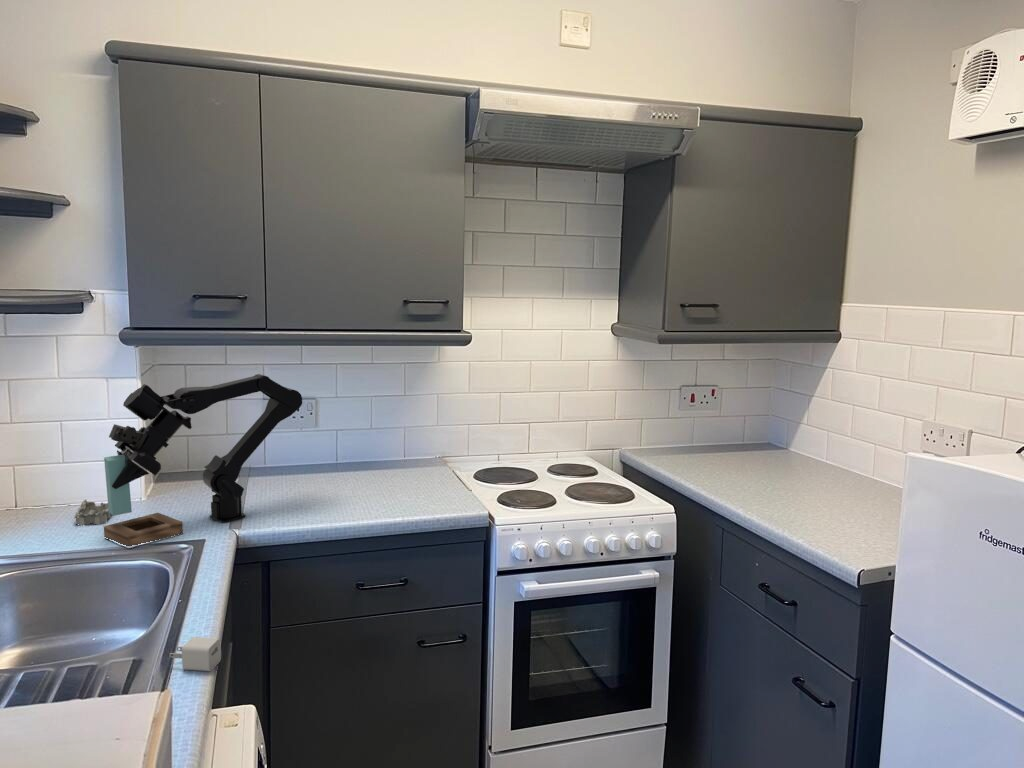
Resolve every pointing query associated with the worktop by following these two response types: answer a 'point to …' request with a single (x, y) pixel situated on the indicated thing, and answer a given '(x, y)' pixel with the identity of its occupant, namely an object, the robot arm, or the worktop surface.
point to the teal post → (121, 496)
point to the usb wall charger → (200, 654)
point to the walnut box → (143, 529)
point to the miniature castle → (92, 513)
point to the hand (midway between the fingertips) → (111, 485)
